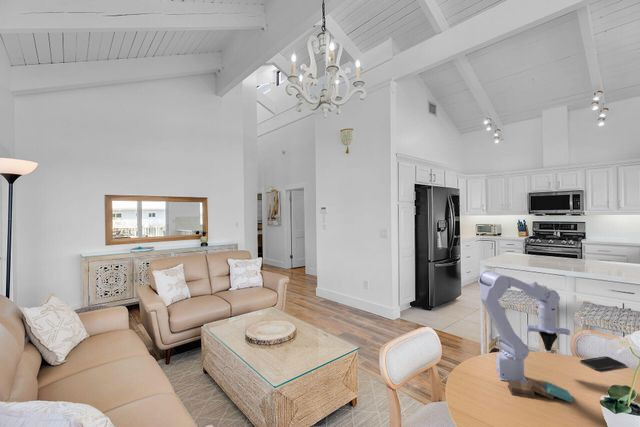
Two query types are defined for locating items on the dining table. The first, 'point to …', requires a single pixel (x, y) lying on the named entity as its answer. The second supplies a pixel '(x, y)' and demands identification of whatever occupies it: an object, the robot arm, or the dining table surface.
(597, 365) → the phone
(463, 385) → the dining table surface
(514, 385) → the domino
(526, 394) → the domino
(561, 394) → the domino teal placed
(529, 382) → the domino
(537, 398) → the dining table surface
